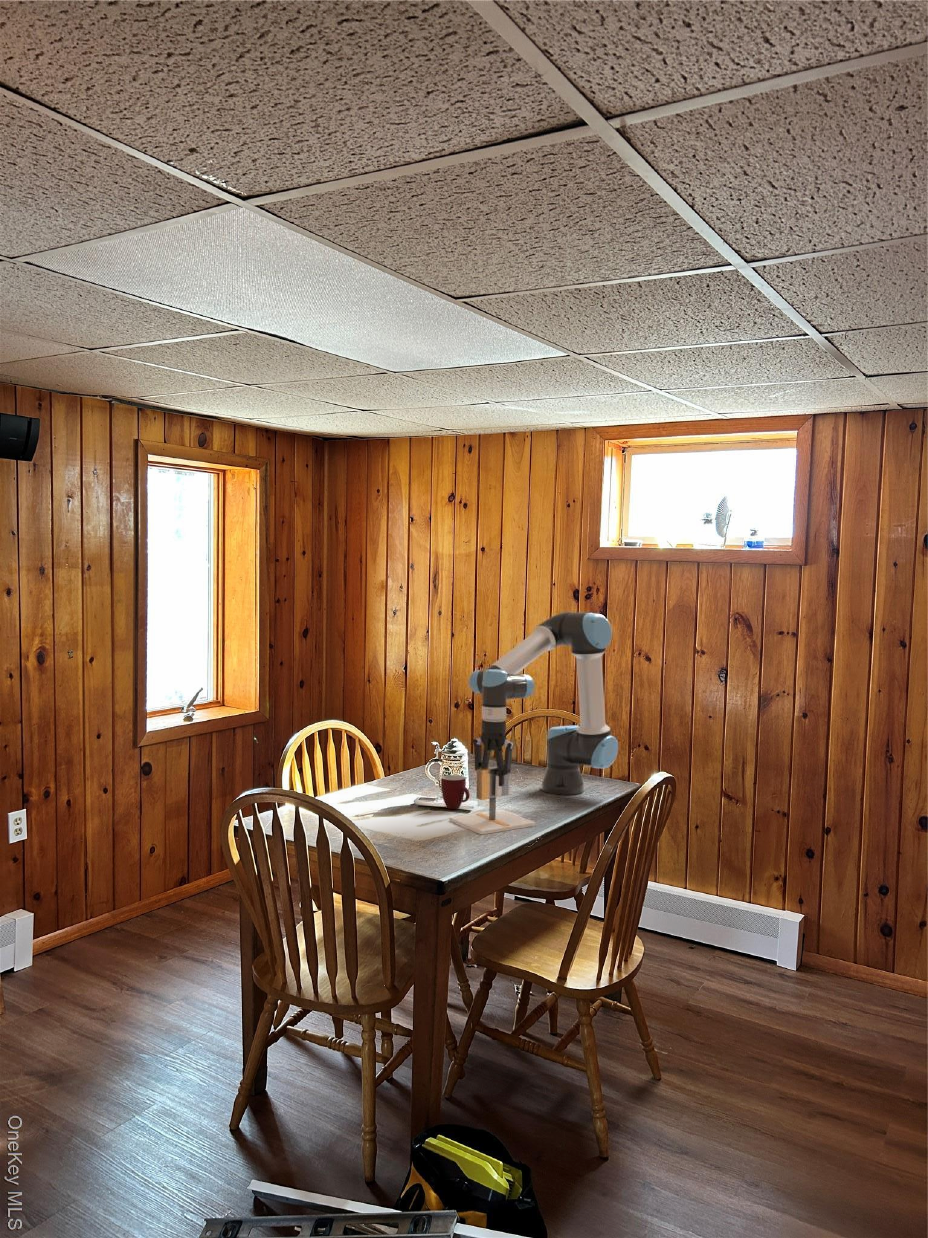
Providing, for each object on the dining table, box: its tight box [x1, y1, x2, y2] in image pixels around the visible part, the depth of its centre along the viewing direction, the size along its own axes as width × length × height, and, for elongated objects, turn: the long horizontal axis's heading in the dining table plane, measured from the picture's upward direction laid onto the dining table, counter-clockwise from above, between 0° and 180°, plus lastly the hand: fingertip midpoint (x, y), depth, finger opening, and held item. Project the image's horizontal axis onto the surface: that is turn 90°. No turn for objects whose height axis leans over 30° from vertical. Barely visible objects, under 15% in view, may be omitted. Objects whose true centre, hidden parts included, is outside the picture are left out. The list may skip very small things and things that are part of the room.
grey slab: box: [475, 765, 510, 801], centre depth 282 cm, size 11×3×9 cm, turn 129°
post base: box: [449, 797, 537, 835], centre depth 282 cm, size 20×18×8 cm
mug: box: [440, 774, 470, 810], centre depth 300 cm, size 11×8×10 cm
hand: (491, 795), depth 282 cm, fingers closed on grey slab, 4 cm apart
